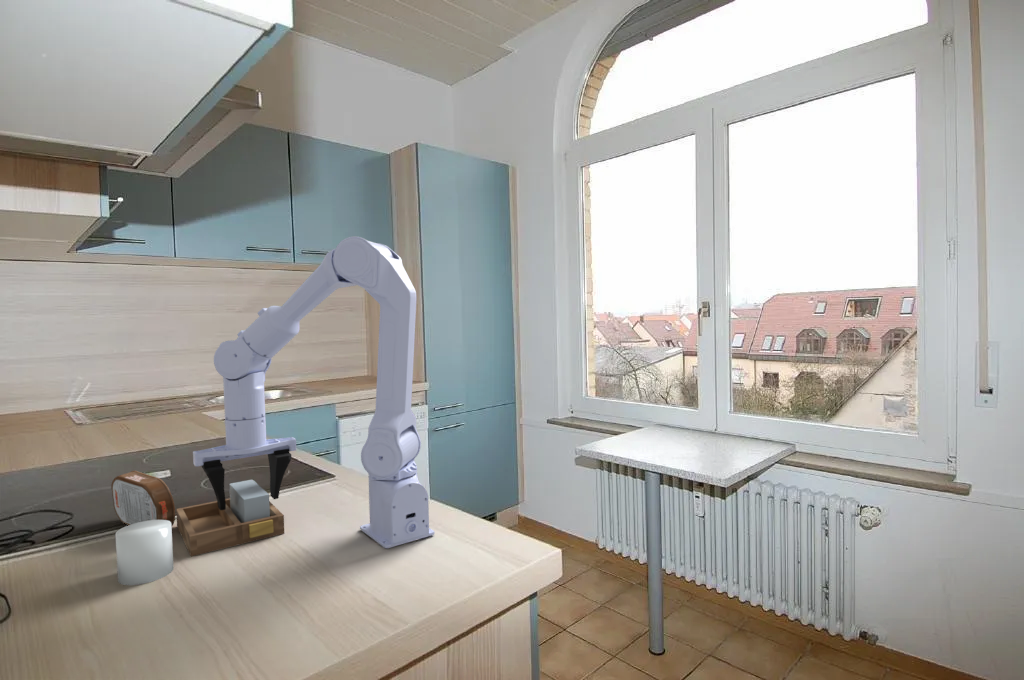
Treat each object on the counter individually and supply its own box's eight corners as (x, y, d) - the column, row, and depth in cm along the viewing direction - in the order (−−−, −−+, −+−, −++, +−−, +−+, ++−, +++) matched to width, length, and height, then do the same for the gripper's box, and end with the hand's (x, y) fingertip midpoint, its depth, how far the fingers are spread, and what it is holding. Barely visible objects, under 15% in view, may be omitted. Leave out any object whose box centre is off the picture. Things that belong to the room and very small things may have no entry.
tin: (178, 534, 85) (175, 479, 84) (156, 541, 82) (153, 485, 82) (130, 516, 93) (128, 466, 92) (109, 522, 90) (106, 471, 90)
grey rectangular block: (270, 526, 85) (269, 494, 85) (245, 532, 83) (244, 499, 82) (253, 508, 93) (252, 479, 92) (230, 513, 90) (229, 483, 90)
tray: (285, 534, 84) (284, 516, 84) (191, 558, 76) (190, 538, 76) (260, 508, 95) (260, 492, 95) (177, 526, 88) (176, 508, 88)
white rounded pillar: (176, 575, 71) (174, 529, 71) (119, 590, 68) (116, 542, 67) (170, 559, 76) (168, 516, 76) (116, 572, 72) (114, 527, 72)
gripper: (286, 408, 94) (289, 486, 95) (188, 419, 85) (192, 506, 86) (299, 413, 89) (302, 497, 90) (195, 426, 80) (200, 519, 81)
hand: (248, 502), depth 87 cm, fingers open, 7 cm apart
